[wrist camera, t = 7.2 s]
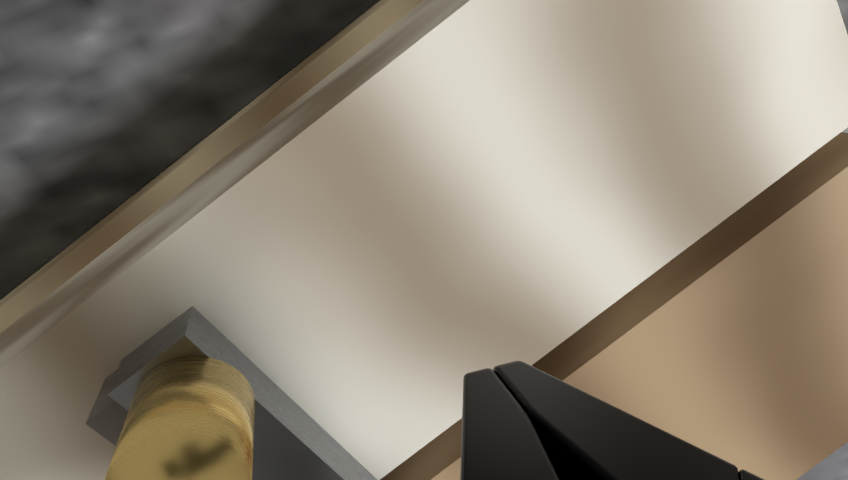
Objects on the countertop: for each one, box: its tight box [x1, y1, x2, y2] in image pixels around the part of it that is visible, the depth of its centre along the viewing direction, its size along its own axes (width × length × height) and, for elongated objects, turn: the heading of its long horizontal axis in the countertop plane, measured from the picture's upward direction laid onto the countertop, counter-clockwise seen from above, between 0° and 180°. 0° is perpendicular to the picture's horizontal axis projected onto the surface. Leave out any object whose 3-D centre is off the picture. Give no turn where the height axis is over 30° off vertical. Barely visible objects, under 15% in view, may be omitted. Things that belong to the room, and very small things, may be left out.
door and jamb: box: [0, 0, 848, 480], centre depth 17 cm, size 23×19×7 cm
